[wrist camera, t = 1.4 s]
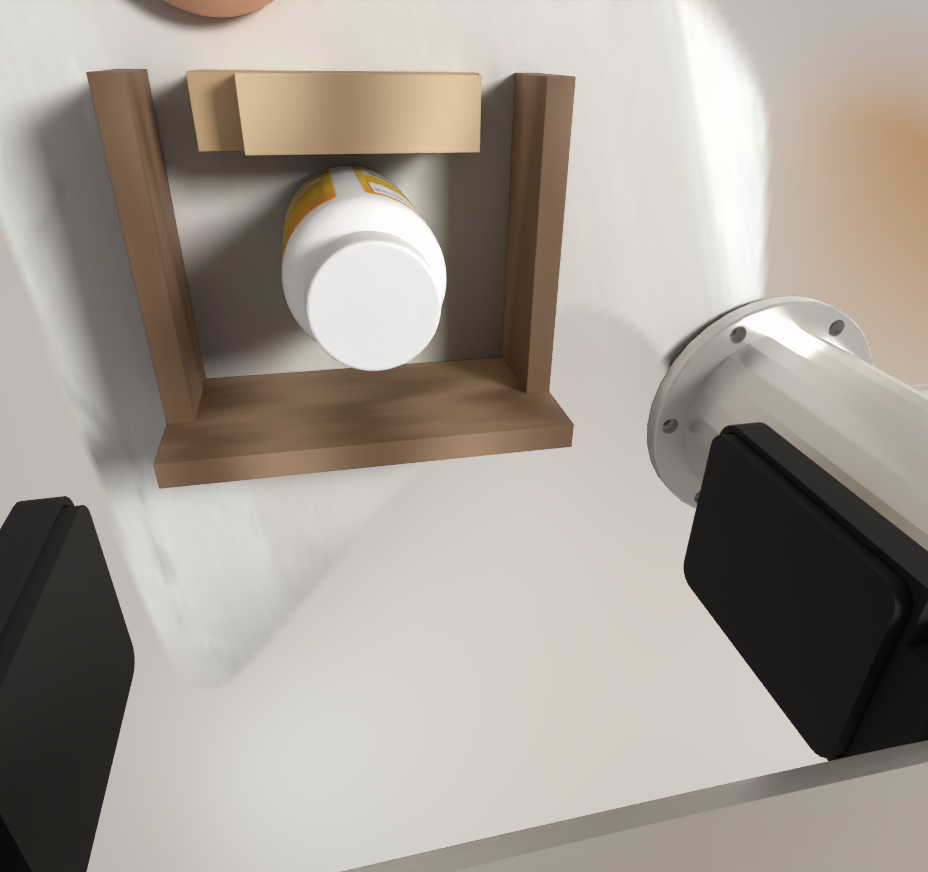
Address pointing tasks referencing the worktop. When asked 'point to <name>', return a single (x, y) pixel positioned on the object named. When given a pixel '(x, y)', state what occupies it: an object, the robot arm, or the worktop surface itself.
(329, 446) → the frame
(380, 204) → the supplement bottle
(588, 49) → the worktop surface
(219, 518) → the worktop surface
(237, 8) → the terracotta coaster
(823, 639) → the robot arm
